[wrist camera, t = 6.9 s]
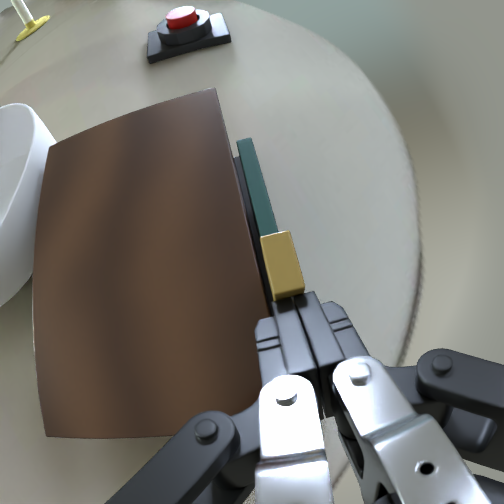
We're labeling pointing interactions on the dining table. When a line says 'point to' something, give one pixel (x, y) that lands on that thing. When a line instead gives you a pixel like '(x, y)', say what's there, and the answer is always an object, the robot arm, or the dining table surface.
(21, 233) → the bowl
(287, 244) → the door
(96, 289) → the cabinet
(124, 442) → the dining table surface
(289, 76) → the dining table surface
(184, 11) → the button
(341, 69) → the dining table surface
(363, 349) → the robot arm
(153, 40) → the switch box
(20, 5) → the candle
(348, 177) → the dining table surface
